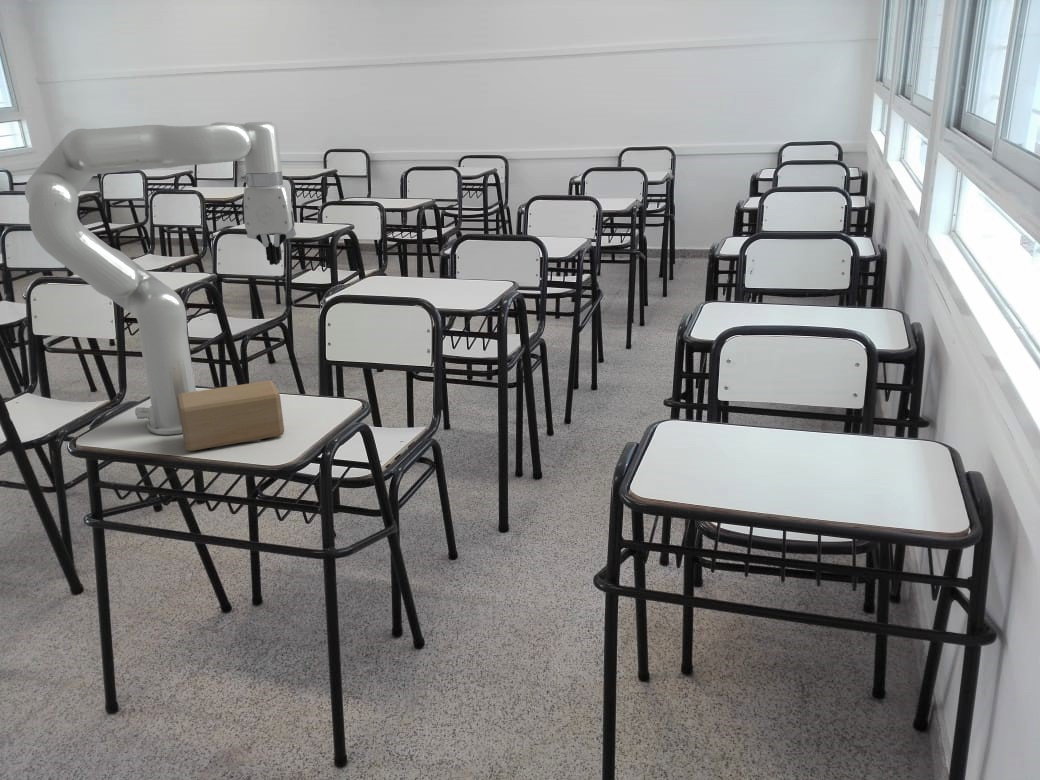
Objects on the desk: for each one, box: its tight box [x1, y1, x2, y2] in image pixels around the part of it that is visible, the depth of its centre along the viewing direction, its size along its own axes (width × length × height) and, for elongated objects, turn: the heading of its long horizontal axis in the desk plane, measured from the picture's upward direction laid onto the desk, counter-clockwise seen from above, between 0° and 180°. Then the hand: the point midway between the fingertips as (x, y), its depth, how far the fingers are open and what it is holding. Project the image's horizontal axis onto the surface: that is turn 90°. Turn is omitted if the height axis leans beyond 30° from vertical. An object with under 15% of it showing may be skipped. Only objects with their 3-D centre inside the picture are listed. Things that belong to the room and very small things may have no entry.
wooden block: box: [177, 380, 285, 452], centre depth 179 cm, size 10×10×20 cm
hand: (275, 263), depth 191 cm, fingers closed
